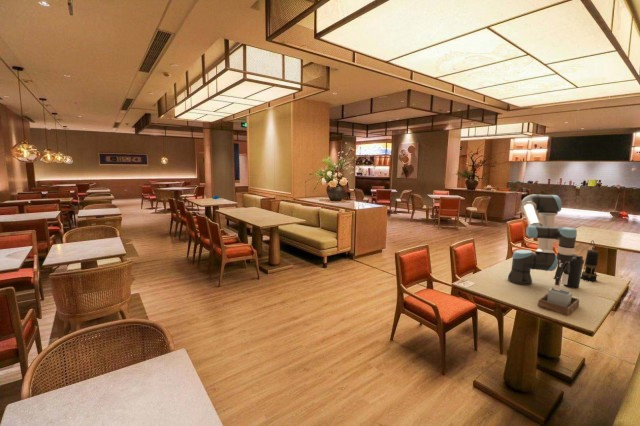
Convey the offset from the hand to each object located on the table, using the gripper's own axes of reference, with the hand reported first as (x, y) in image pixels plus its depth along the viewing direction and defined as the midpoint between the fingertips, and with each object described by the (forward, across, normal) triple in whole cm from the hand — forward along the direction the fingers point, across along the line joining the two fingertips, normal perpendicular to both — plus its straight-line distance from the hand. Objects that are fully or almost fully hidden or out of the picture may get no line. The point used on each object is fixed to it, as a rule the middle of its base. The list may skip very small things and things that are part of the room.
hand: (560, 287), depth 189 cm
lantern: (+14, -70, -1) cm, 72 cm away
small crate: (+11, +1, 0) cm, 11 cm away
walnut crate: (+12, +1, 0) cm, 12 cm away
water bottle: (+14, -44, -5) cm, 47 cm away
